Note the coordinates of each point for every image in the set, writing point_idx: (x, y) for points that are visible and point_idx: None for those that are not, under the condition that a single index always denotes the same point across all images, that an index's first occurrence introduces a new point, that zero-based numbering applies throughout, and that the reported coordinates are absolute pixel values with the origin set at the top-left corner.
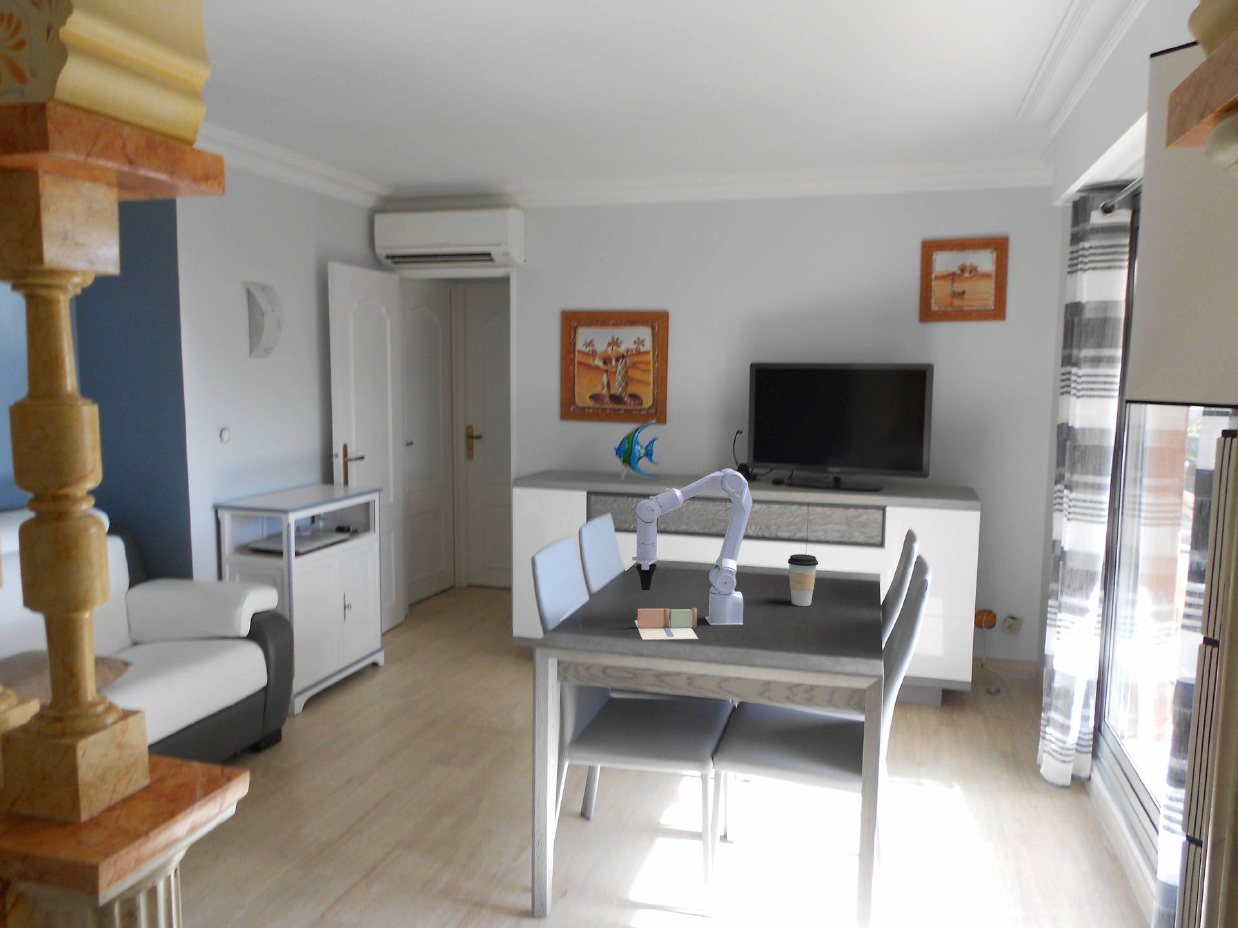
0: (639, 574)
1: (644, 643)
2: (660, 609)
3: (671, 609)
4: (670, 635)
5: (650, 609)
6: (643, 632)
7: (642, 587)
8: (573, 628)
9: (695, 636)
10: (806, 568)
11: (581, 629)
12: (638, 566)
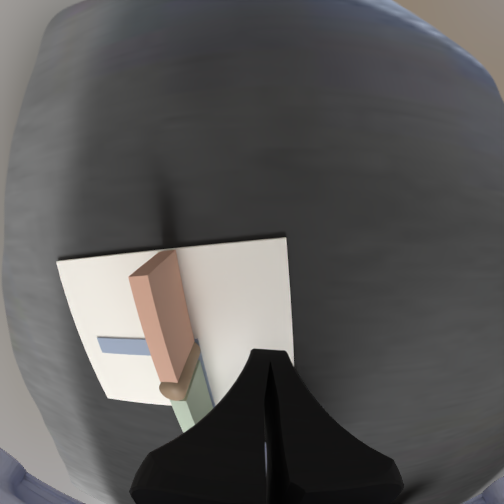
0: (196, 424)
1: (41, 264)
2: (158, 370)
3: (186, 404)
4: (104, 344)
5: (147, 332)
6: (117, 268)
7: (247, 360)
8: (169, 15)
9: (121, 397)
10: None
11: (155, 40)
12: (144, 496)
